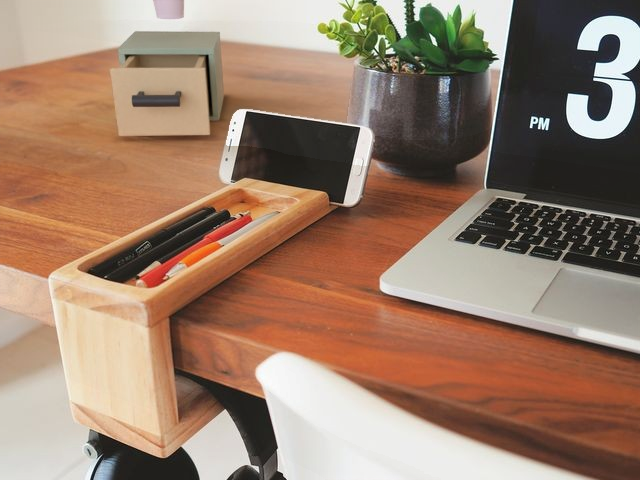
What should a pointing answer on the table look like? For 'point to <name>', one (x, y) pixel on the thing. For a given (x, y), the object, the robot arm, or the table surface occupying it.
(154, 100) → the drawer
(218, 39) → the cabinet
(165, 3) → the smoothie
